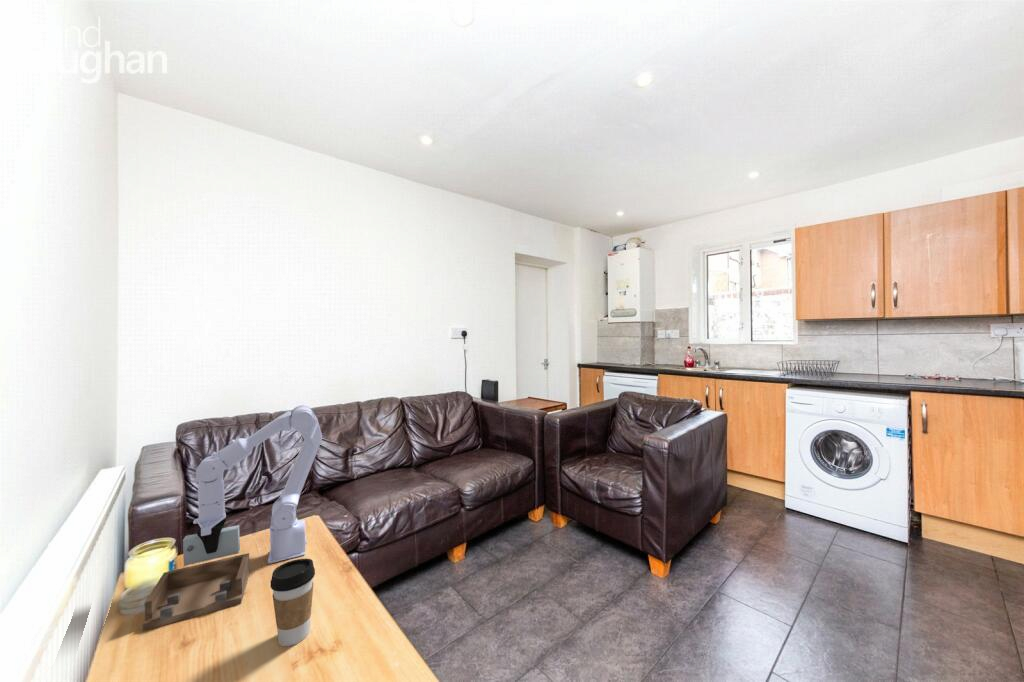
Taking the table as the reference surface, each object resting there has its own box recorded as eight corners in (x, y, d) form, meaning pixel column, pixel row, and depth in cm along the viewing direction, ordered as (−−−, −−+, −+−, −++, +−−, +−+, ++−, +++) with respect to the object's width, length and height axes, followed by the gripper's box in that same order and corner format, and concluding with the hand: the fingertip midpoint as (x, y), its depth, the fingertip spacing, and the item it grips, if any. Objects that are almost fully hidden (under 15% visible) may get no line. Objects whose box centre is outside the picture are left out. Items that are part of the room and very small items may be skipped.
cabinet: (249, 572, 105) (249, 553, 105) (241, 603, 93) (240, 581, 93) (164, 594, 97) (164, 572, 97) (142, 631, 84) (142, 606, 84)
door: (239, 549, 109) (239, 525, 109) (237, 554, 106) (237, 530, 106) (186, 561, 104) (185, 535, 104) (182, 567, 101) (182, 541, 101)
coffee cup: (302, 651, 78) (301, 578, 78) (262, 651, 78) (260, 579, 78) (323, 620, 86) (322, 555, 86) (287, 621, 87) (285, 555, 87)
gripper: (200, 494, 110) (201, 541, 110) (185, 514, 97) (186, 567, 97) (230, 489, 113) (231, 535, 113) (219, 508, 100) (221, 559, 100)
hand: (213, 549), depth 105 cm, fingers closed on door, 2 cm apart
